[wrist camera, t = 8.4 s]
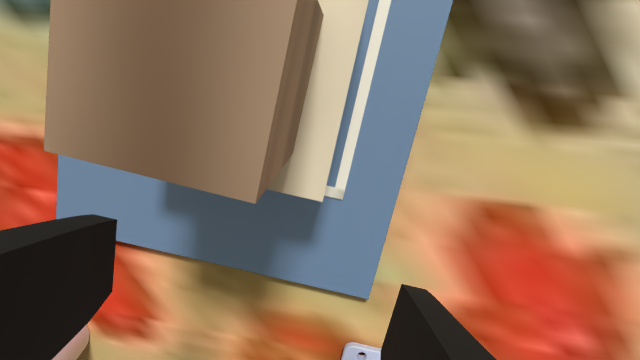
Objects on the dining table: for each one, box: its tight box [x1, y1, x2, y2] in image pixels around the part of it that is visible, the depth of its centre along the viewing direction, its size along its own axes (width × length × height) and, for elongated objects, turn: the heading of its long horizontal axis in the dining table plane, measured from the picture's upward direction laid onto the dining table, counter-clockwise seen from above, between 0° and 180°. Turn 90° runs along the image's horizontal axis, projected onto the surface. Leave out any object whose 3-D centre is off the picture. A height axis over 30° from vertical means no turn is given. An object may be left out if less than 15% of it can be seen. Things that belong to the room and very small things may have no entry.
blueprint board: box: [56, 0, 453, 299], centre depth 19 cm, size 17×16×1 cm
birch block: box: [267, 0, 369, 202], centre depth 16 cm, size 8×8×4 cm
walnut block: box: [44, 0, 324, 204], centre depth 11 cm, size 5×5×6 cm
